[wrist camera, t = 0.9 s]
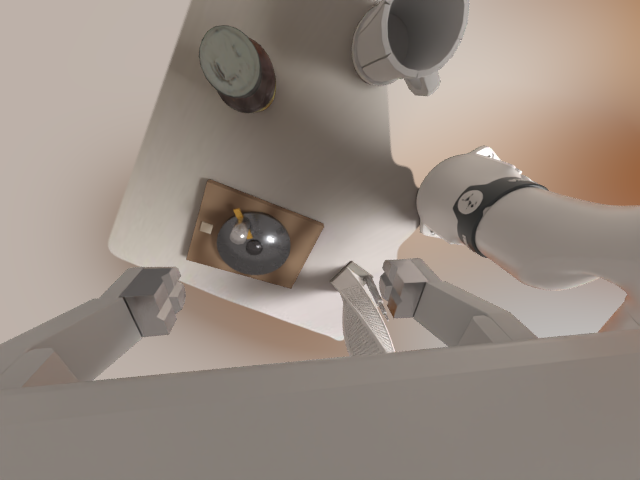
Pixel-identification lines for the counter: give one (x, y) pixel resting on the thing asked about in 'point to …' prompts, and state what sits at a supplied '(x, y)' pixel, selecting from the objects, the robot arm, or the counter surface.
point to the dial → (253, 243)
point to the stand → (225, 199)
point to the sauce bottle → (237, 69)
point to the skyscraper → (362, 313)
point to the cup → (408, 42)
